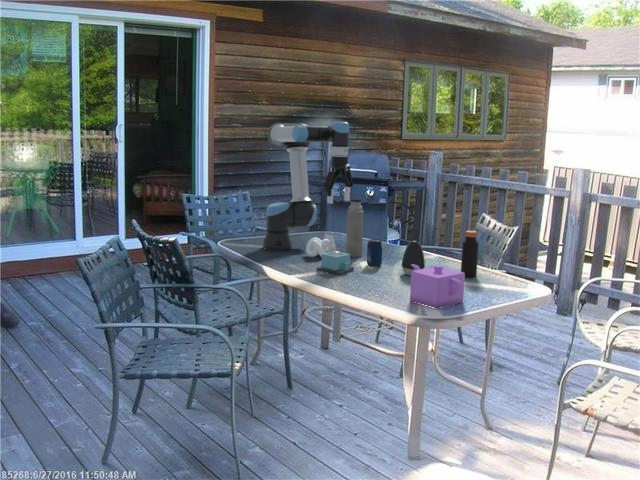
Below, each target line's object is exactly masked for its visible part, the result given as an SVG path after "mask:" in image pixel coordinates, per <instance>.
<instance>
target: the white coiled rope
mask: <svg viewBox="0 0 640 480" xmlns="http://www.w3.org/2000/svg"><path fill="white" fill-rule="evenodd" d="M305 246H306V247H305V253H306V255H307V256H308V257H309V258H315V257H317V256H320V258H322V254H323V253H328V252H327V251H329V249H330V247H331V242H330V240H329V239H328V238H323V239H322V240H321V239H320V238H318V237H315V236H314V237H312V238H310V239H308V241H307V243H306V245H305Z"/></svg>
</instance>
